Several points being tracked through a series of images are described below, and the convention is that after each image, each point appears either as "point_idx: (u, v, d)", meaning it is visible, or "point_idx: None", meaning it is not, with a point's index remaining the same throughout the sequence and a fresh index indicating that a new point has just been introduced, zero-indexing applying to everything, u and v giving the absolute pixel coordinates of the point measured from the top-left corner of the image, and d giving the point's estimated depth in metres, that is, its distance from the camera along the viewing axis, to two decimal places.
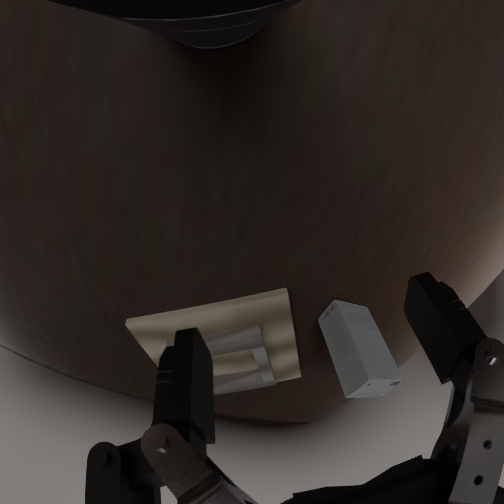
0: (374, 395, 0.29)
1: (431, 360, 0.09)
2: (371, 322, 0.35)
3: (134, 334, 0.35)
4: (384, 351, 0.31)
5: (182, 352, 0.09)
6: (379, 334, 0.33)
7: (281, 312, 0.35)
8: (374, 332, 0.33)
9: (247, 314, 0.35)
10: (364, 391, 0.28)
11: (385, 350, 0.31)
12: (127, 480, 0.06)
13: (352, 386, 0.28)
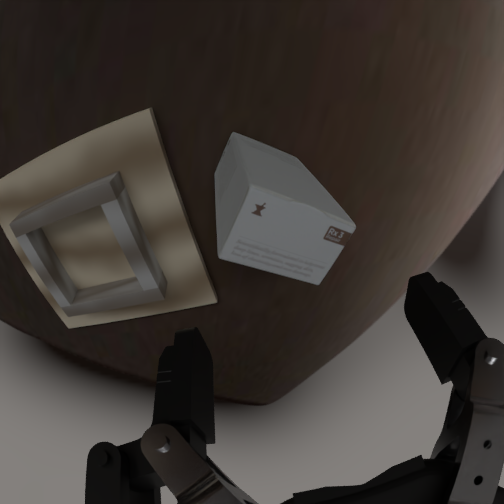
0: (296, 271, 0.15)
1: (431, 360, 0.09)
2: (298, 164, 0.21)
3: None
4: (314, 186, 0.17)
5: (182, 352, 0.09)
6: (309, 175, 0.20)
7: (146, 147, 0.21)
8: (299, 169, 0.20)
9: (100, 152, 0.21)
10: (259, 240, 0.14)
11: (316, 186, 0.17)
12: (127, 480, 0.06)
13: (228, 225, 0.14)
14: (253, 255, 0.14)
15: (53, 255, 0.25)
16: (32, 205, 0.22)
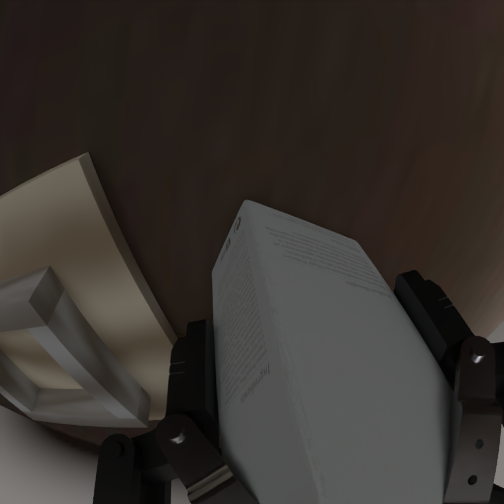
0: None
1: None
2: (371, 275, 0.11)
3: None
4: (426, 373, 0.07)
5: (194, 343, 0.09)
6: (399, 312, 0.09)
7: (84, 231, 0.11)
8: (383, 303, 0.09)
9: (17, 235, 0.11)
10: None
11: (427, 366, 0.07)
12: (139, 474, 0.06)
13: None
14: None
15: None
16: None
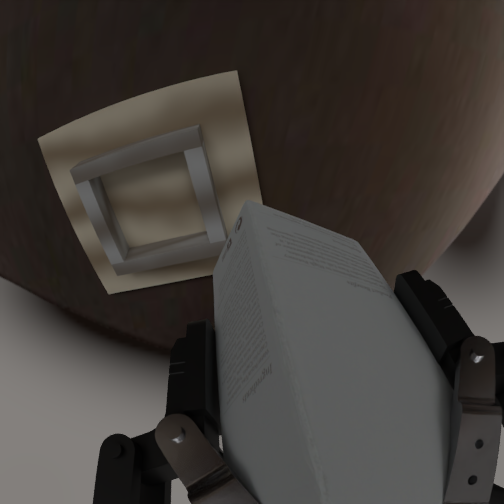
0: None
1: None
2: (372, 275, 0.11)
3: (46, 156, 0.23)
4: (427, 372, 0.07)
5: (195, 343, 0.09)
6: (400, 312, 0.09)
7: (230, 104, 0.23)
8: (384, 303, 0.09)
9: (182, 105, 0.23)
10: None
11: (428, 366, 0.07)
12: (139, 474, 0.06)
13: None
14: None
15: (110, 208, 0.27)
16: (95, 154, 0.24)
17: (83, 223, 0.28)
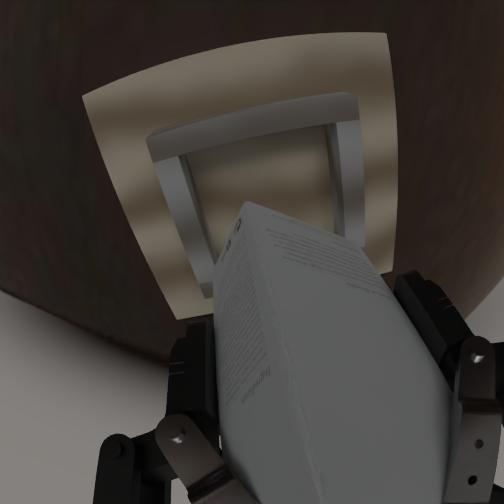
0: None
1: None
2: (371, 276, 0.11)
3: (94, 122, 0.16)
4: (425, 374, 0.07)
5: (195, 343, 0.09)
6: (399, 313, 0.09)
7: (378, 73, 0.16)
8: (383, 304, 0.09)
9: (321, 62, 0.15)
10: None
11: (427, 368, 0.07)
12: (139, 473, 0.06)
13: None
14: None
15: (199, 202, 0.20)
16: (181, 120, 0.17)
17: (150, 224, 0.21)
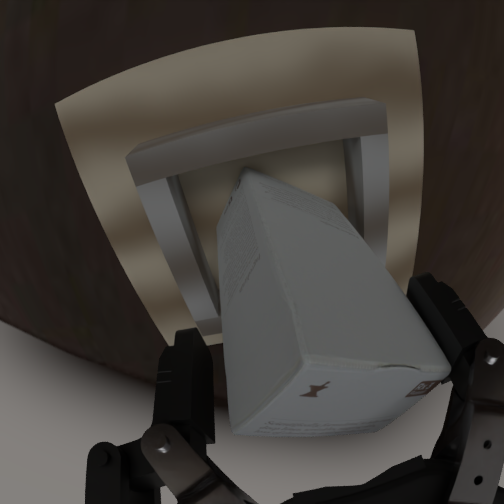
0: (351, 430, 0.08)
1: None
2: (343, 223, 0.14)
3: (69, 135, 0.13)
4: (383, 282, 0.10)
5: (182, 352, 0.09)
6: (365, 247, 0.13)
7: (405, 76, 0.13)
8: (351, 238, 0.12)
9: (340, 62, 0.12)
10: (305, 418, 0.07)
11: (385, 280, 0.10)
12: (127, 480, 0.06)
13: (250, 393, 0.07)
14: (291, 430, 0.07)
15: (194, 229, 0.17)
16: (170, 131, 0.14)
17: (138, 252, 0.18)
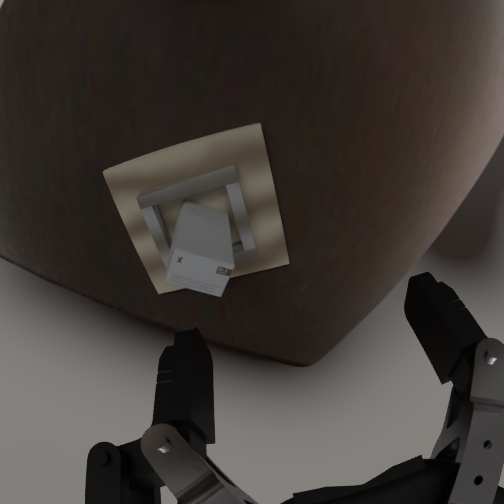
0: (205, 289, 0.29)
1: (431, 360, 0.09)
2: (222, 221, 0.35)
3: (110, 186, 0.34)
4: (221, 240, 0.31)
5: (182, 352, 0.09)
6: (225, 230, 0.33)
7: (256, 149, 0.34)
8: (219, 226, 0.33)
9: (221, 150, 0.33)
10: (182, 273, 0.28)
11: (223, 240, 0.31)
12: (127, 480, 0.06)
13: (168, 265, 0.28)
14: (181, 281, 0.28)
15: (165, 226, 0.38)
16: (153, 185, 0.35)
17: (141, 238, 0.39)
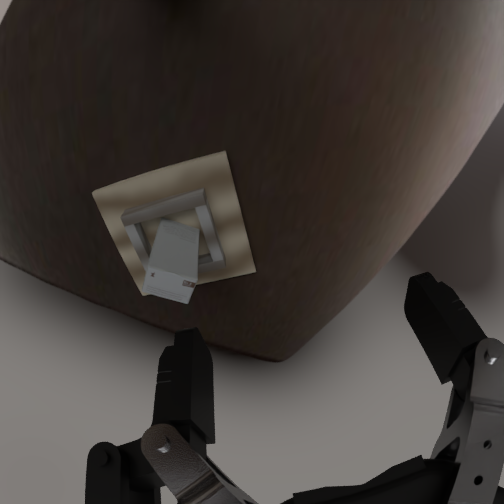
0: (174, 297, 0.34)
1: (431, 360, 0.09)
2: (193, 237, 0.40)
3: (98, 205, 0.39)
4: (189, 256, 0.36)
5: (182, 352, 0.09)
6: (194, 246, 0.39)
7: (222, 174, 0.39)
8: (189, 243, 0.39)
9: (192, 175, 0.39)
10: (155, 285, 0.33)
11: (191, 256, 0.37)
12: (127, 480, 0.06)
13: (144, 278, 0.33)
14: (154, 291, 0.34)
15: (146, 240, 0.43)
16: (135, 205, 0.40)
17: (126, 248, 0.44)
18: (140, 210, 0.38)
